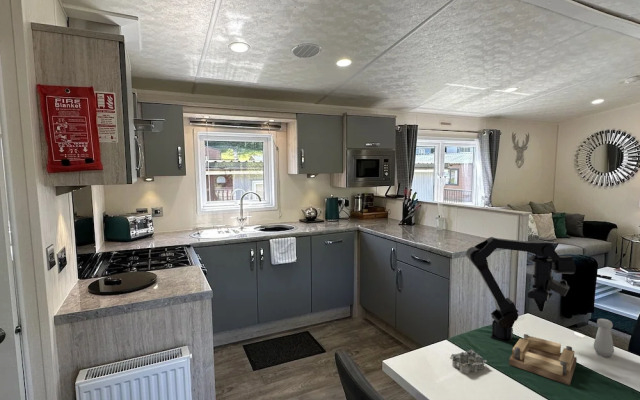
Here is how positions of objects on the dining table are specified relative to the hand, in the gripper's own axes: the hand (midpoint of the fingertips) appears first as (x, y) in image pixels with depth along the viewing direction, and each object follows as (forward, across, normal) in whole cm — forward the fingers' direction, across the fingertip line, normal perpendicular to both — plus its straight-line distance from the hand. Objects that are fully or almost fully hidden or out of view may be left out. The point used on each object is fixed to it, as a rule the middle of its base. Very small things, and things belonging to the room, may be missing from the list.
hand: (541, 311), depth 130 cm
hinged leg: (+10, -12, -2) cm, 16 cm away
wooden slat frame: (+12, -19, -4) cm, 23 cm away
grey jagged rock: (+12, -38, +15) cm, 43 cm away
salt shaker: (+12, +3, -19) cm, 23 cm away
